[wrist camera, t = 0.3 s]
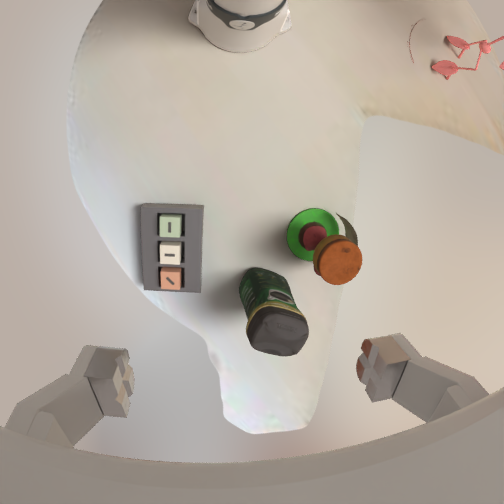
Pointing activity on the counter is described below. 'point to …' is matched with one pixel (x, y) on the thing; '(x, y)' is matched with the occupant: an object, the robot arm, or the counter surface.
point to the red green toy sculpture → (325, 245)
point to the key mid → (170, 252)
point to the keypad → (188, 238)
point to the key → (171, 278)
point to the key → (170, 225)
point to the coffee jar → (272, 314)
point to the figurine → (452, 68)
